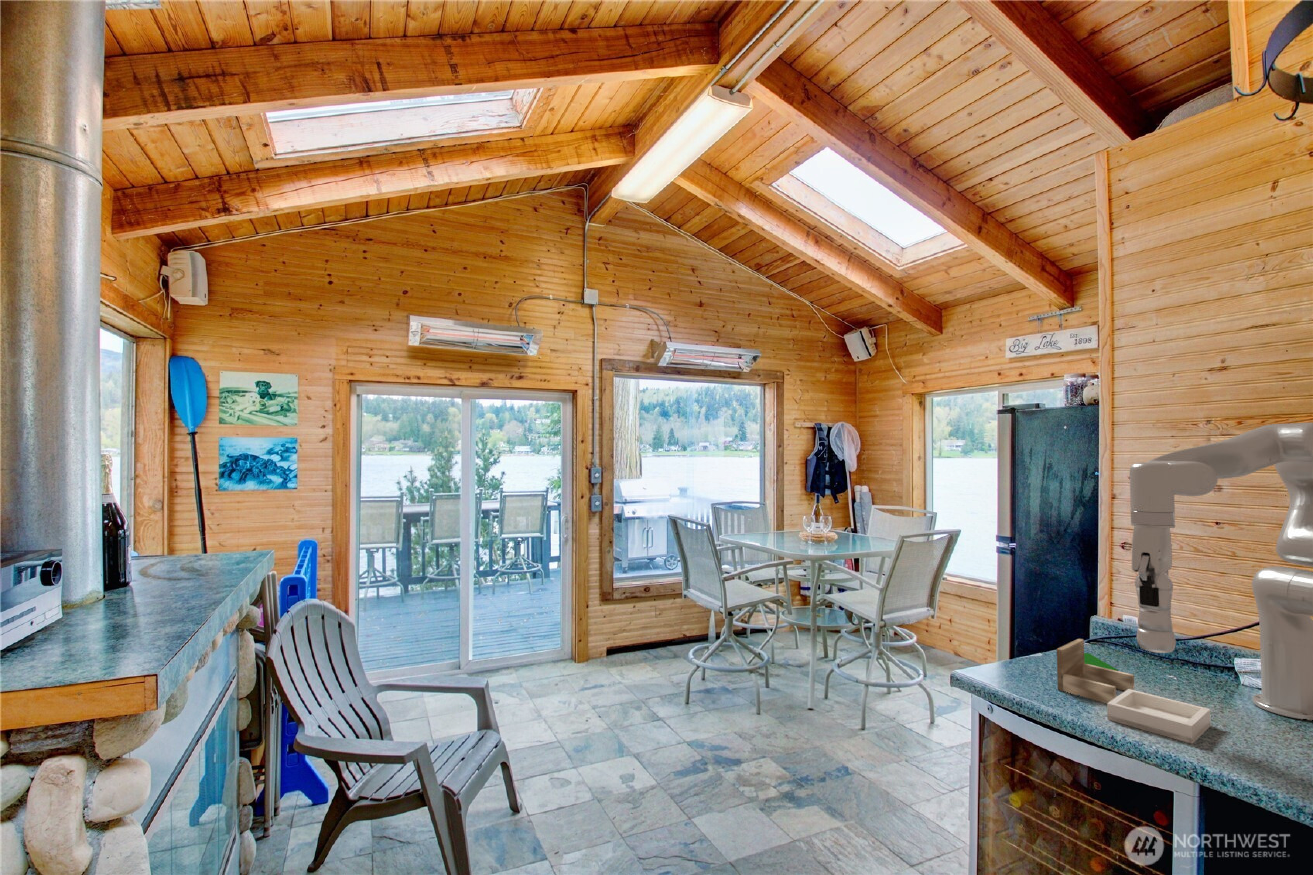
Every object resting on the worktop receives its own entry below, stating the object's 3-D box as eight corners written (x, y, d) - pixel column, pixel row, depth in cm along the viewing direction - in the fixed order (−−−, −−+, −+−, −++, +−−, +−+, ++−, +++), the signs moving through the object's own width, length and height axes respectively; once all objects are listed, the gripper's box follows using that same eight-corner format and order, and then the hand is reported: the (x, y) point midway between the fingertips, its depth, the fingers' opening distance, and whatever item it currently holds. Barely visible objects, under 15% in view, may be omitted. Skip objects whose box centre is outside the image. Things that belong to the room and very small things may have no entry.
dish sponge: (1089, 661, 174) (1089, 652, 175) (1119, 679, 161) (1119, 669, 161) (1061, 660, 175) (1061, 651, 175) (1089, 678, 162) (1089, 668, 162)
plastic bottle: (1183, 657, 131) (1180, 561, 131) (1146, 655, 132) (1144, 560, 133) (1165, 648, 137) (1162, 556, 138) (1130, 646, 139) (1127, 555, 139)
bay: (1134, 691, 152) (1133, 649, 152) (1114, 705, 143) (1113, 661, 144) (1079, 677, 161) (1078, 638, 161) (1057, 690, 153) (1056, 648, 153)
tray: (1210, 725, 133) (1210, 708, 133) (1192, 743, 125) (1191, 726, 125) (1129, 704, 144) (1128, 688, 144) (1107, 719, 136) (1107, 703, 136)
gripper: (1144, 515, 143) (1146, 594, 143) (1117, 521, 133) (1119, 605, 133) (1186, 518, 137) (1188, 600, 137) (1161, 524, 127) (1163, 613, 127)
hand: (1154, 602), depth 135 cm, fingers closed on plastic bottle, 6 cm apart
